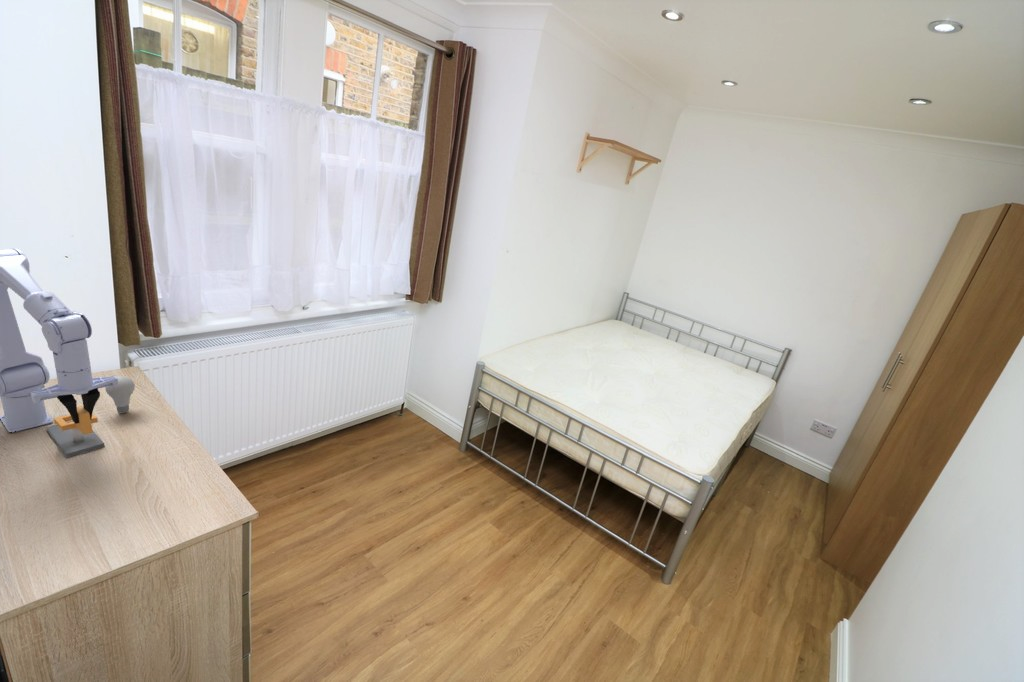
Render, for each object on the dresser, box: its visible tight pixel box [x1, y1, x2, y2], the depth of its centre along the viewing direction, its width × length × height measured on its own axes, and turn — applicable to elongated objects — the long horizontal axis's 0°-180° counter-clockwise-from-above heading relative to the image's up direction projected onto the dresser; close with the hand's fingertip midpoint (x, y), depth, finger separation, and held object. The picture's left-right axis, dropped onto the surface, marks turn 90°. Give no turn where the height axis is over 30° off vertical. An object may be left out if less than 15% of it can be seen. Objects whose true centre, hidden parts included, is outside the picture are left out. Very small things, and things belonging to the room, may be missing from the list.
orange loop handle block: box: [53, 405, 99, 435], centre depth 111 cm, size 12×6×5 cm, turn 55°
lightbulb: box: [104, 375, 136, 414], centre depth 127 cm, size 6×6×11 cm
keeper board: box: [45, 420, 105, 458], centre depth 116 cm, size 15×7×6 cm, turn 55°
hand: (82, 420), depth 109 cm, fingers closed on orange loop handle block
